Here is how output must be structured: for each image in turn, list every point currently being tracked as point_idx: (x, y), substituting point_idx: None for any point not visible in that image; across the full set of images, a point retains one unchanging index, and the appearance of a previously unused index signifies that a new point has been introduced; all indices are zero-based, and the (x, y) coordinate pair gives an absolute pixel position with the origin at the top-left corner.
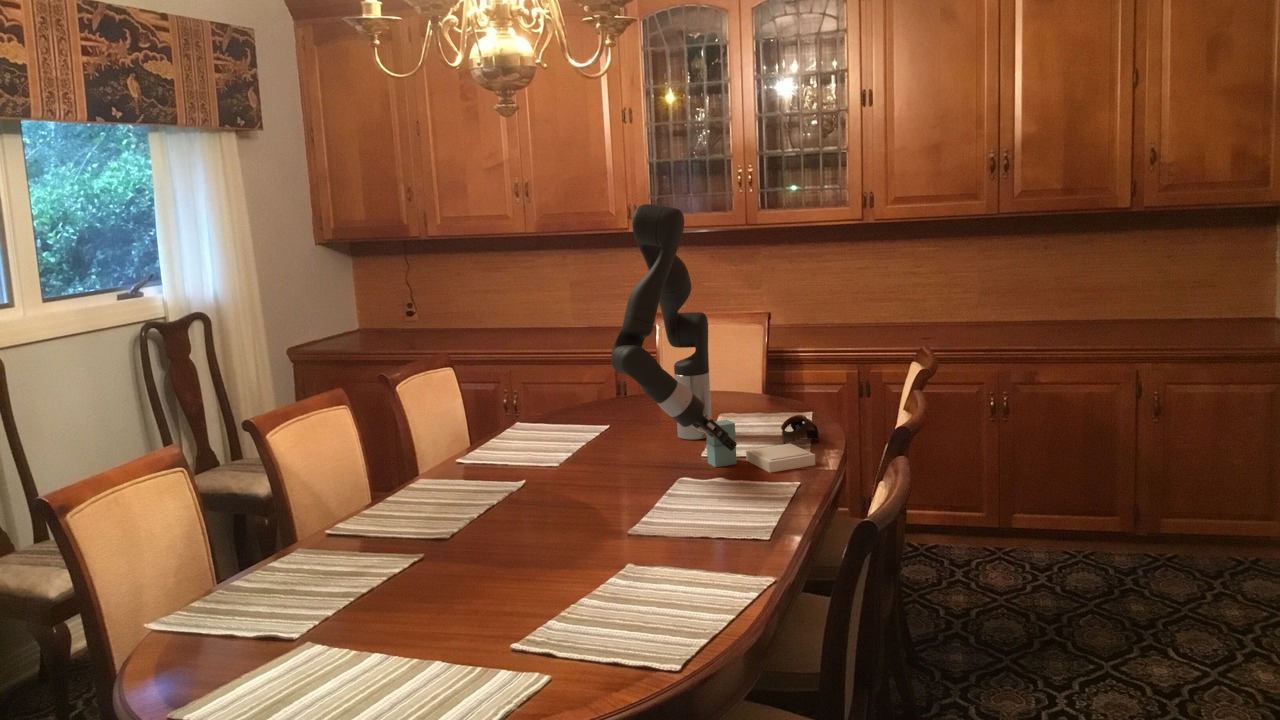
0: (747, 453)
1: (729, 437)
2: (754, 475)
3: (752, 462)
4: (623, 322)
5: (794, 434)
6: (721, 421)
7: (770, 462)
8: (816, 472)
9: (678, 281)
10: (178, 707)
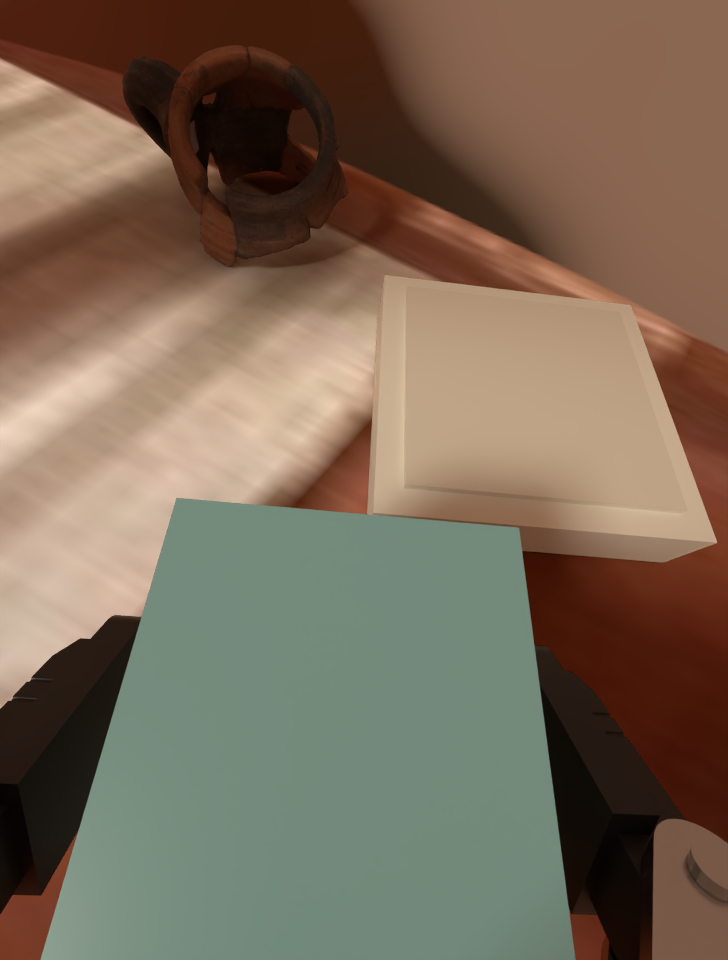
0: None
1: (614, 752)
2: (694, 670)
3: None
4: None
5: (311, 201)
6: (223, 672)
7: (712, 535)
8: (710, 395)
9: None
10: None
